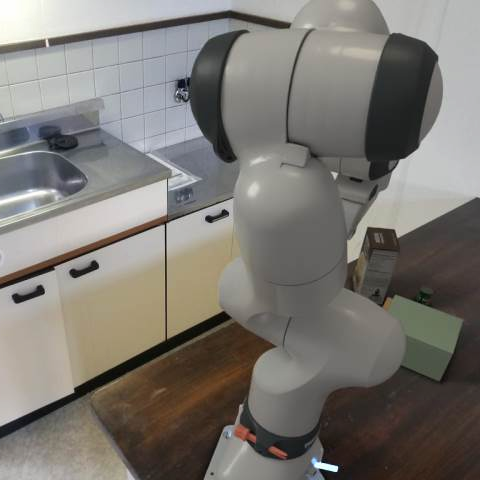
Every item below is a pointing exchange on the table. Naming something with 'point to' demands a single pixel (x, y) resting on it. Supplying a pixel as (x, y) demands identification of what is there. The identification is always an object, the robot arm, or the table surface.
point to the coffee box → (376, 263)
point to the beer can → (424, 295)
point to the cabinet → (426, 336)
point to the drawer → (387, 303)
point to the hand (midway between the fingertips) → (348, 236)
